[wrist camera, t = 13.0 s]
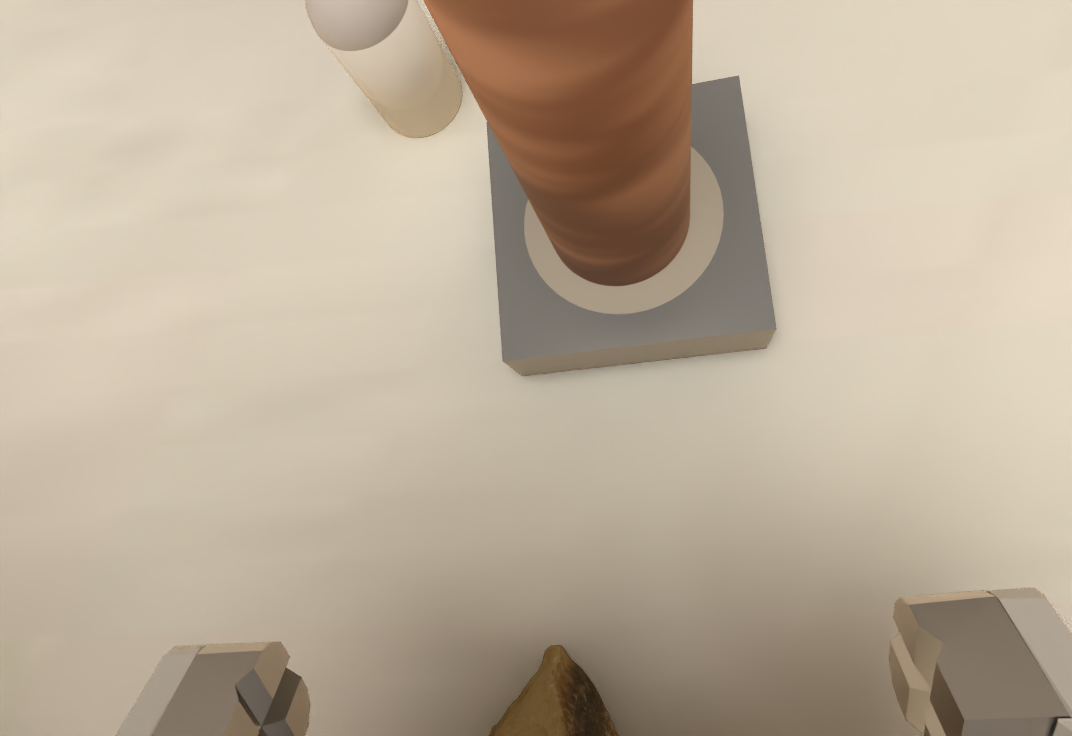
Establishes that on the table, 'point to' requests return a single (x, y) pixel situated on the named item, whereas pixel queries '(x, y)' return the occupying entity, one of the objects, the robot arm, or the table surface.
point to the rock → (557, 703)
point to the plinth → (660, 301)
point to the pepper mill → (588, 120)
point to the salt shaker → (392, 60)
